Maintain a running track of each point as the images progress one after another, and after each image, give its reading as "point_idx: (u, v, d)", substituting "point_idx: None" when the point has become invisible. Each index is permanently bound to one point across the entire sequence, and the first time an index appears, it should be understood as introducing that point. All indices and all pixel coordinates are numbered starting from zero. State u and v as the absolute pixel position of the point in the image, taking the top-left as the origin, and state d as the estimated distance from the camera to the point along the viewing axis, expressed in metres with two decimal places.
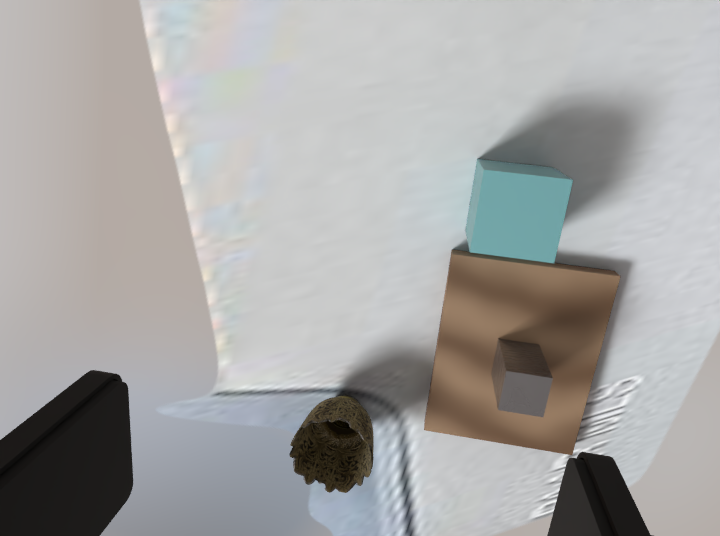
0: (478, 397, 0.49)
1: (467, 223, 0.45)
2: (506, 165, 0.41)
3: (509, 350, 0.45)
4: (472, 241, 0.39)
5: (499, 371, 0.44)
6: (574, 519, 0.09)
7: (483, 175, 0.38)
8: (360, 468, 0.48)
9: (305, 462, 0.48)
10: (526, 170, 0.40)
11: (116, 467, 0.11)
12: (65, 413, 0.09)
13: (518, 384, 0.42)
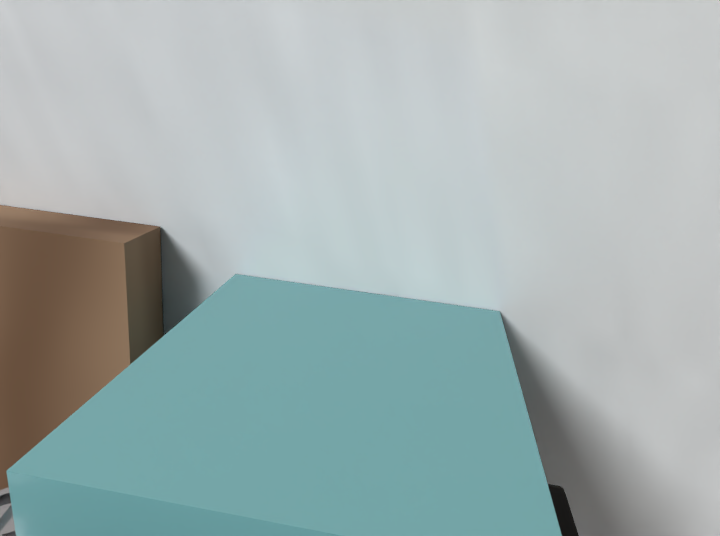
0: None
1: (255, 292, 0.12)
2: None
3: None
4: (78, 488, 0.06)
5: None
6: None
7: None
8: None
9: None
10: None
11: None
12: None
13: None
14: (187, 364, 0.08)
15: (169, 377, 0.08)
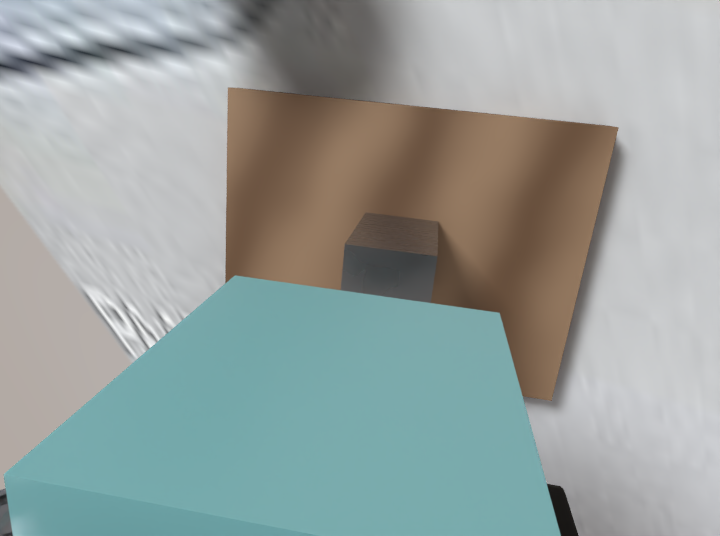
0: (313, 191, 0.26)
1: (255, 293, 0.12)
2: None
3: None
4: (75, 491, 0.06)
5: (404, 235, 0.22)
6: None
7: None
8: None
9: None
10: None
11: None
12: None
13: (408, 280, 0.20)
14: (186, 366, 0.08)
15: (168, 379, 0.08)
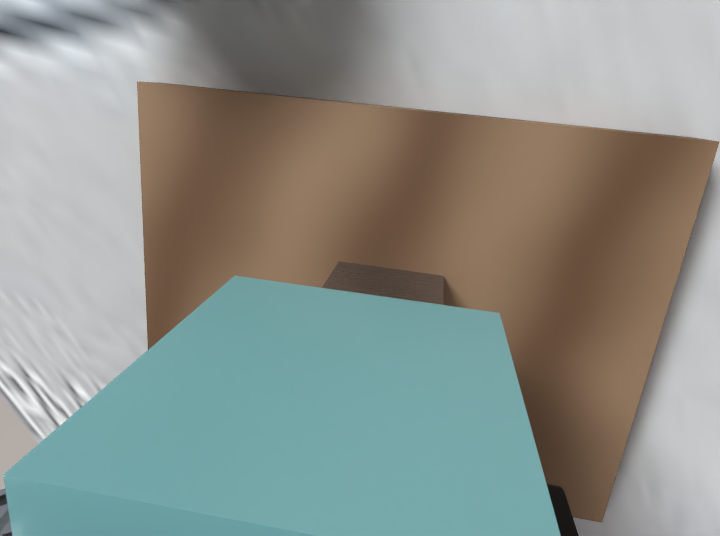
0: (264, 231, 0.18)
1: (255, 293, 0.12)
2: None
3: None
4: (75, 492, 0.06)
5: None
6: None
7: None
8: None
9: None
10: None
11: None
12: None
13: None
14: (186, 366, 0.08)
15: (167, 380, 0.08)
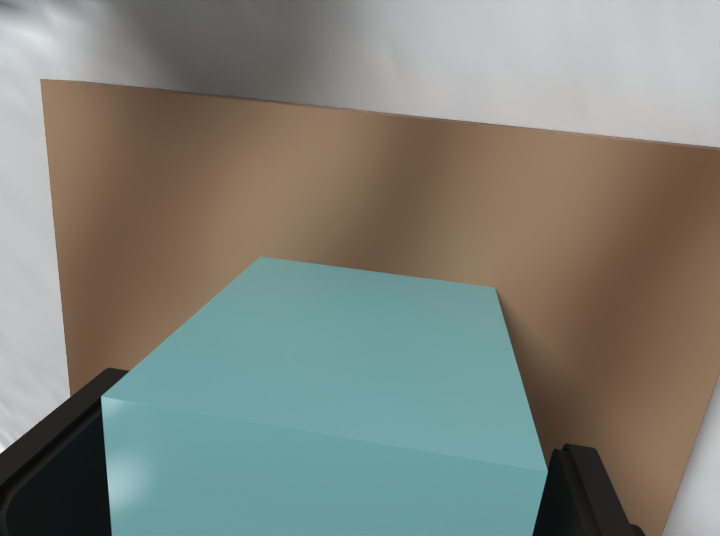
0: (208, 268, 0.14)
1: (279, 271, 0.13)
2: None
3: None
4: (158, 409, 0.07)
5: None
6: (557, 508, 0.09)
7: (512, 465, 0.07)
8: None
9: None
10: None
11: None
12: (84, 409, 0.09)
13: None
14: (229, 325, 0.10)
15: (216, 334, 0.10)
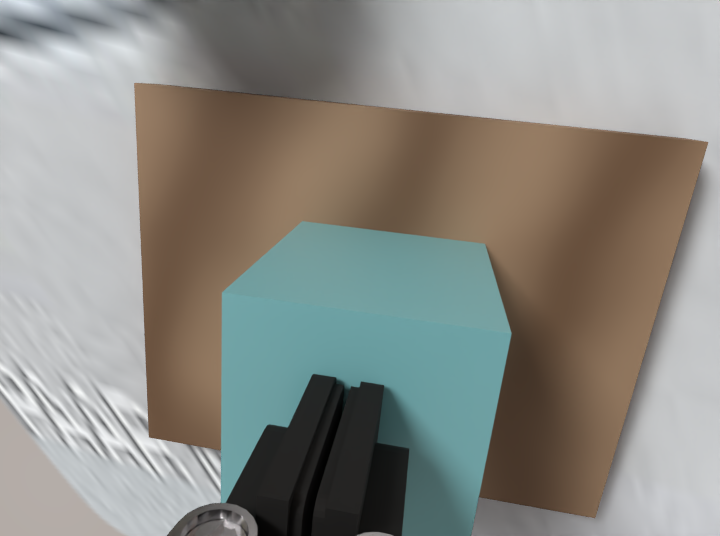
0: (260, 230, 0.18)
1: (319, 230, 0.17)
2: None
3: None
4: (259, 300, 0.11)
5: None
6: None
7: (489, 331, 0.11)
8: None
9: None
10: None
11: None
12: (320, 414, 0.10)
13: None
14: (292, 260, 0.14)
15: (284, 264, 0.14)
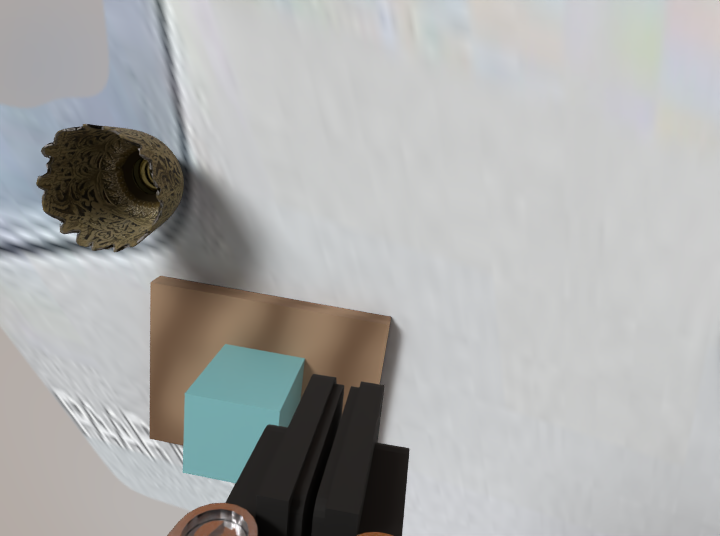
0: (206, 346, 0.40)
1: (231, 351, 0.39)
2: (294, 401, 0.38)
3: None
4: (197, 396, 0.33)
5: None
6: None
7: (273, 410, 0.33)
8: (84, 219, 0.33)
9: (74, 139, 0.31)
10: None
11: None
12: (320, 414, 0.10)
13: None
14: (214, 373, 0.36)
15: (210, 376, 0.35)
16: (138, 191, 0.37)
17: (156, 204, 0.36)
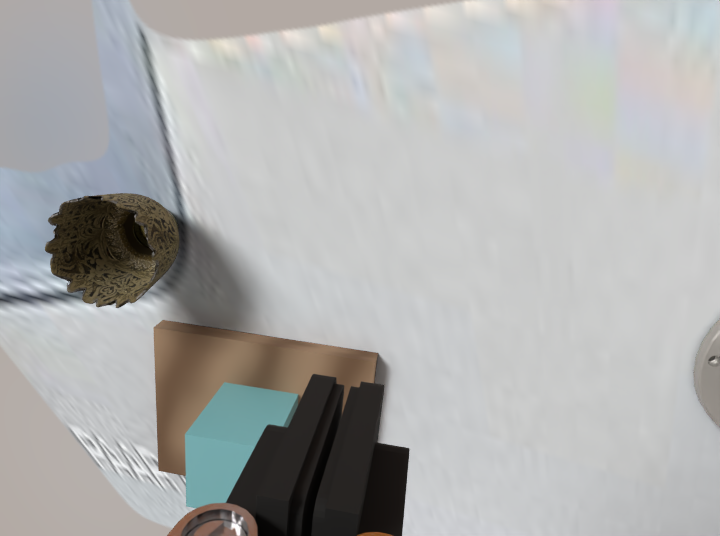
0: (207, 385, 0.43)
1: (229, 389, 0.42)
2: None
3: None
4: (196, 436, 0.36)
5: None
6: None
7: None
8: (89, 276, 0.36)
9: (78, 207, 0.34)
10: None
11: None
12: (320, 414, 0.10)
13: None
14: (212, 413, 0.39)
15: (209, 416, 0.38)
16: (139, 246, 0.40)
17: None
